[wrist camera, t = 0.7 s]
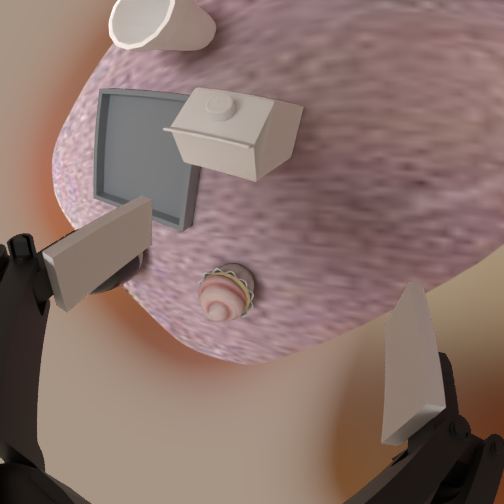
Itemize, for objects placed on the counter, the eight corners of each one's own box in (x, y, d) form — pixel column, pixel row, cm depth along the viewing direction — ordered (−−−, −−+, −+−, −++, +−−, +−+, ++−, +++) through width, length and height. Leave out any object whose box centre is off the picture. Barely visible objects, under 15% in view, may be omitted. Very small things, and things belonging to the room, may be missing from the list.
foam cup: (166, 62, 35) (104, 55, 24) (171, 10, 31) (113, -10, 20) (224, 58, 33) (170, 41, 22) (229, 2, 29) (180, -31, 18)
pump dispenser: (141, 217, 49) (79, 255, 36) (158, 269, 53) (106, 315, 40) (105, 223, 53) (49, 256, 40) (122, 269, 57) (72, 309, 44)
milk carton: (291, 157, 37) (239, 195, 21) (241, 144, 38) (158, 171, 22) (304, 106, 33) (259, 97, 17) (251, 94, 34) (169, 84, 18)
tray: (111, 88, 40) (99, 88, 37) (213, 98, 36) (203, 97, 34) (104, 193, 50) (93, 198, 47) (192, 224, 46) (183, 231, 44)
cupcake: (235, 242, 45) (206, 275, 37) (275, 286, 46) (255, 326, 38) (200, 271, 50) (170, 304, 42) (236, 310, 51) (213, 348, 43)
